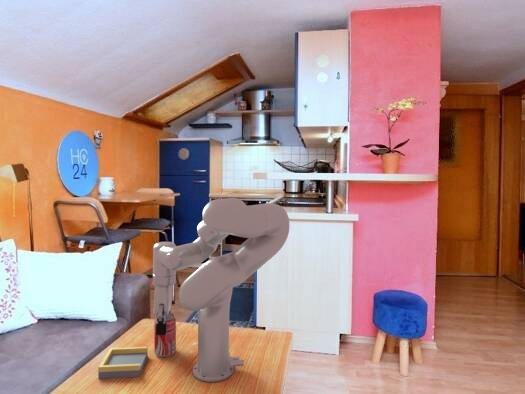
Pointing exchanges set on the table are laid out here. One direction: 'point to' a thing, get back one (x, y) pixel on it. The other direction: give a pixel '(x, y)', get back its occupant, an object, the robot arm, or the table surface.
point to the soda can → (166, 338)
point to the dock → (123, 362)
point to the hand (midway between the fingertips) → (163, 328)
